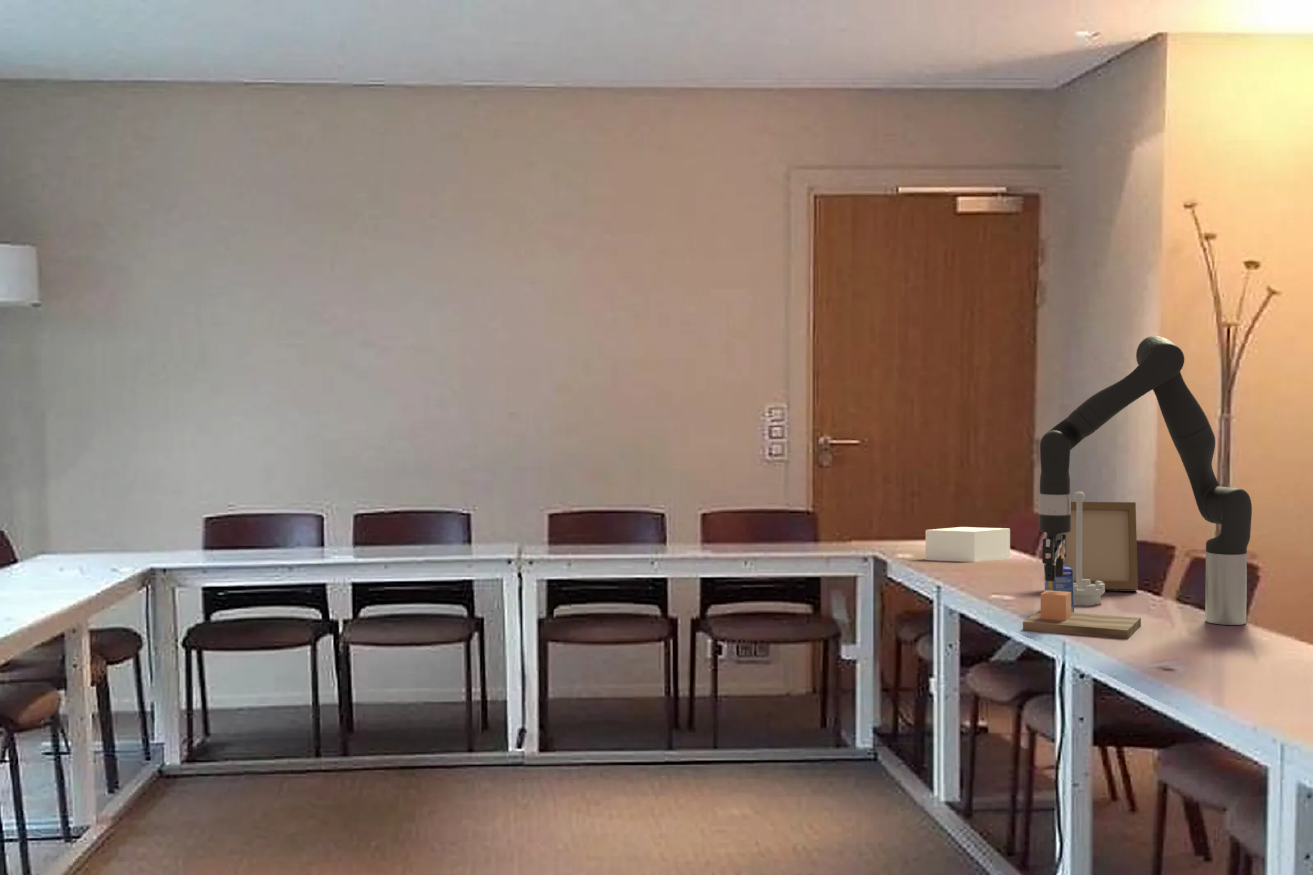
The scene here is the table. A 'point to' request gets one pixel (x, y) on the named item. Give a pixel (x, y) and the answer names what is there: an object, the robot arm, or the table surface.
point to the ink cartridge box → (1062, 583)
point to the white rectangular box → (968, 544)
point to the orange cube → (1055, 605)
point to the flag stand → (1083, 587)
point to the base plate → (1085, 625)
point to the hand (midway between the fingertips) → (1054, 578)
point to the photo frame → (1106, 544)
